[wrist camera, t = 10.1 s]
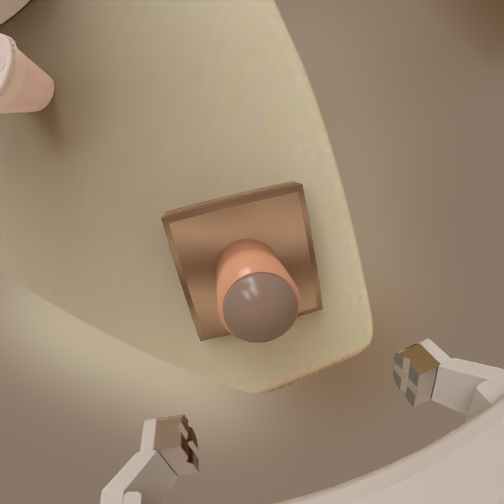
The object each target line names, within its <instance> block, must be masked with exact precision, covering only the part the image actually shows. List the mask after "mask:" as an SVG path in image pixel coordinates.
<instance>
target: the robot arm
mask: <svg viewBox="0 0 504 504" xmlns="http://www.w3.org/2000/svg"><path fill="white" fill-rule="evenodd" d="M29 1H30V0H0V24H2V23H3V22H5V21H6V20H8V19H9V18H11V17H12V16H13V15H14V14H16V13H17V12H18V11H19V10H20V9H21V8H23V7H24V6H25V5H26V4H27V3H28V2H29ZM394 361H395V362H396V363H397V364H396V366H395V368H394V372H393V375H394V380H395V382H396V385H397V386H398V388H399V389H400V390H402V391H405V392H406V398H407V399H408V401H409V402H410V403H411V405H412V406H413V407H415V406H417V405H420V404H422V403H424V402H426V401H428V400H430V399H432V400H433V401H435V402H437V403H440V404H442V405H445V406H447V407H449V408H451V409H454V410H456V411H459V412H461V413H463V414H466V415H467V416H466V418H465V421H464V423H463V425H461V426H460V427H458V428H456V429H455V430H453V431H451V432H450V433H448V434H446V435H445V436H443V437H441V438H440V439H438V440H436V441H434V442H432V443H431V444H429V445H427V446H425V447H423V448H422V449H419V450H417V451H416V452H414V453H412V454H410V455H408V456H406V457H403V458H401V459H400V460H397V461H395V462H393V463H391V464H389V465H386V466H384V467H382V468H380V469H377V470H375V471H372V472H370V473H368V474H365V475H363V476H360V477H357V478H355V479H352V480H350V481H347V482H344V483H341V484H338V485H336V486H333V487H330V488H327V489H324V490H321V491H318V492H314V493H311V494H307V495H304V496H301V497H297V498H293V499H289V500H285V501H281V502H277V503H273V504H504V370H503V369H501V368H497V367H492V366H488V365H483V364H479V363H475V362H470V361H465V360H462V359H457V358H453V359H451V358H450V357H449V356H447V354H445V353H444V352H443V351H442V350H441V349H440V348H439V347H438V346H437V345H436V344H435V343H434V342H432V341H431V340H430V339H425V340H423V341H421V342H419V343H417V344H414V345H412V346H410V347H408V348H405V349H403V350H401V351H398V352H396V354H395V357H394ZM197 451H198V443H197V439H196V435H195V433H194V431H193V429H192V428H191V427H189V426H188V420H187V418H186V417H185V415H177V416H169V417H162V418H155V419H146V420H145V422H144V425H143V432H142V439H141V447H140V452H136V453H135V455H134V456H133V457H132V458H131V459H130V460H129V461H128V462H127V464H126V465H125V466H124V467H123V468H122V469H121V470H120V471H119V472H118V474H117V475H116V476H115V477H114V478H113V479H112V480H111V481H110V483H108V485H107V486H106V487H105V488H104V489H103V490H102V495H101V500H100V504H162V503H163V501H164V499H165V498H166V496H167V495H168V493H169V491H170V490H171V488H172V486H173V485H174V483H175V481H176V480H177V478H178V477H177V476H181V475H189V474H195V473H199V461H198V458H197V456H196V455H195V454H196V452H197Z"/></svg>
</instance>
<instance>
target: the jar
mask: <svg viewBox="0 0 504 504" xmlns="http://www.w3.org/2000/svg"><path fill="white" fill-rule="evenodd" d="M215 276H216V290H217V304H218V313H219V317H220V320H221V322H222V324H223V325H224V327H225V328H226V329H227V330H228V331H229V332H230V333H231V334H233V335H234V336H236V337H238V338H240V339H243V340H245V341H249V342H267V341H270V340H273V339H276V338H278V337H279V336H281V335H282V334H284V333H285V332H286V331H287V330H288V329H289V328H290V327H291V326H292V324H293V323H294V321H295V319H296V317H297V315H298V312H299V308H300V294H299V291H298V288H297V286H296V284H295V283H294V281H293V280H292V278H291V277H290V275H289V274H288V272H287V271H286V269H285V268H284V266H283V265H282V263H281V262H280V260H279V259H278V257H277V256H276V254H275V253H274V251H273V250H272V249H271V248H270V247H269V246H268V245H267V244H265V243H263V242H261V241H259V240H255V239H241V240H238V241H235V242H233V243H231V244H229V245H228V246H227V247H225V248H224V249H223V251H222V252H221V253H220V255H219V257H218V259H217V261H216V266H215Z"/></svg>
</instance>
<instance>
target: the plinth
mask: <svg viewBox="0 0 504 504" xmlns="http://www.w3.org/2000/svg"><path fill="white" fill-rule="evenodd" d="M162 222H163V225H164V229H165V232H166V236H167V239H168V243H169V246H170V249H171V253H172V256H173V259H174V263H175V266H176V269H177V272H178V276H179V279H180V282H181V285H182V288H183V291H184V294H185V297H186V300H187V303H188V306H189V309H190V312H191V315H192V318H193V321H194V324H195V327H196V330H197V333H198V335H199V338H200V341H203V340H208V339H212V338H216V337H220V336H225V335H229V334H231V333H230V332H229V331H228V330H227V329H226V328H225V327H224V325H223V324H222V322H221V320H220V317H219V313H218V304H217V290H216V276H215V266H216V261H217V259H218V257H219V255H220V253H221V252H222V251H223V249H224V248H225V247H227V246H228V245H229V244H231V243H233V242H235V241H238V240H241V239H255V240H259V241H261V242H263V243H265V244H267V245H268V246H269V247H270V248H271V249H272V250H273V251H274V253H275V254H276V256H277V257H278V259H279V260H280V262H281V263H282V265H283V266H284V268H285V269H286V271H287V272H288V274H289V275H290V277H291V278H292V280H293V281H294V283H295V284H296V286H297V288H298V291H299V294H300V308H299V312H298V315H297V316H300V315H304V314H307V313H311V312H314V311H318V310H321V309H322V301H321V294H320V287H319V280H318V273H317V267H316V260H315V254H314V248H313V241H312V235H311V229H310V224H309V218H308V212H307V207H306V201H305V196H304V190H303V185H302V184H299V183H296V182H288V183H283V184H279V185H274V186H270V187H265V188H261V189H256V190H252V191H248V192H243V193H239V194H235V195H231V196H227V197H223V198H219V199H215V200H211V201H207V202H203V203H199V204H195V205H191V206H187V207H184V208H180V209H176V210H172V211H169V212H166V213H165V215H164V216H163V217H162Z"/></svg>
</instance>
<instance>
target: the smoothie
mask: <svg viewBox="0 0 504 504" xmlns="http://www.w3.org/2000/svg"><path fill="white" fill-rule="evenodd" d="M54 89H55V86H54V81H53V79H52V78H51V77H50V76H49V75H48V74H46V73H45V72H44V71H43V70H42V69H41V68H39V67H38V66H37V65H36V64H35V63H34V62H32V61H31V60H30V59H29V58H28V57H27V56H25V55H24V54H23V53H22V52H21V51H20V50H18V48H17V46H16V43H15V41H14V40H13V39H12V38H11V37H10V36H7V35H4V34H2V33H0V114H4V113H21V112H38V111H40V110H42V109H44V108H45V107H46V106H47V105H48V104H49V102H50V101H51V99H52V97H53V94H54Z"/></svg>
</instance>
